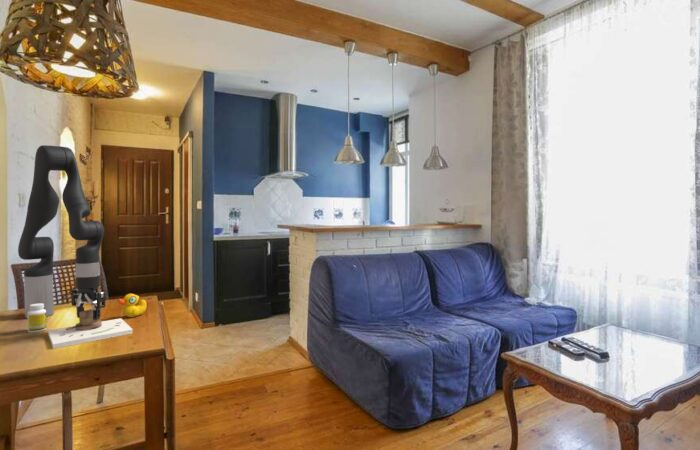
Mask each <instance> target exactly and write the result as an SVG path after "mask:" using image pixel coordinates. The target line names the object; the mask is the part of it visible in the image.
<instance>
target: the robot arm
mask: <svg viewBox="0 0 700 450" xmlns="http://www.w3.org/2000/svg"><path fill="white" fill-rule="evenodd" d="M78 167H79V166H78V163H77V159H76V155H75V153H74V151H73V150H72V149H71V148H70V147H66V146H61V145H60V146H59V145H48V144H47V145H46V144H45V145H39V146H38V147H37V149H36V152H35V157H34V167H33V168H34V170H33V178H32V179H33V181H32V187H31V191H30V195H29V198H28V204H27V210H26V211H27V212H26V217H25V222H24V226H23V230H22V232H21V236H20V239H19V243H18V246H17V253H18V256H19V258H20V259H22V260H24V261H26V260H27V261H28V260H29V261H30V260H39V262H37V263H36V264H35V265H32V266H30V267H26V269H24V270H23V271H24V272H23V281H24V282H23V283H24V285H23V286H24V287H23V289H24V290H23V291H24V318H26V319H28V316H27V315H28V312H29V311H31V309H30V305H32V304H37V303H43V304H44V308H43V309H45V310H46V318H47V317H49V316H52V315H54V281H53V280H54V279H53V278H54V276H53V274H54V273H53V271H54V251H55V250H54V241H53V238H51V237H50V236H37V235H38V233H39V232H40V231H41V230H42V229H43V228H44V227H46V226H47V225H48V224H49V223H51V221H52V220H53V219H54V218H55V217H56V216H57V214H58V209H59V205H60V197H59V195H58V193H57V191H56V190H55V189H54V187H53V185H52V184H51V183H50V178H49V175H50V172H51V171H57V172H59V171H60V172H61V171H63V172H65V173H66V177H67V179H66V184H65V186H64V188H63V191H62V194H61V195H62V196H61V197H62V201H63V205H64V207H65V210H66V213H67V215H68V231H69V232H68V233H69V235H70V236H71V238H72V239H74V240H76V241H87V243H86V244H84V245H83V246H78V247H77V248H76V251H75V261H76V262H75V274H74V275H75V276H74V277H75V278H74V279H75V289H72V290H70V292H71V295H70V296H71V306H72V307H74V308H76V317H77V318H78V319H79V312H81V311H85V304H86V303H88V304H89V306H91V309H93V320H100V318H101V309H103V308H106V291H99V287H100V286H101V265H100V250H101V246H102V243H103V239H104V237H105V236H104V235H105V227H104V225H103V223H102V222H101V221H98V220H83V219H85V218H87V217H89V216H90V215H91V213H92V211H91V207H90V204H89V202H88V200H87V197H86V194H85V192H84V190H83V186H82V185H83V184H82V180H81V176H80V171H79V168H78Z"/></svg>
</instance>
